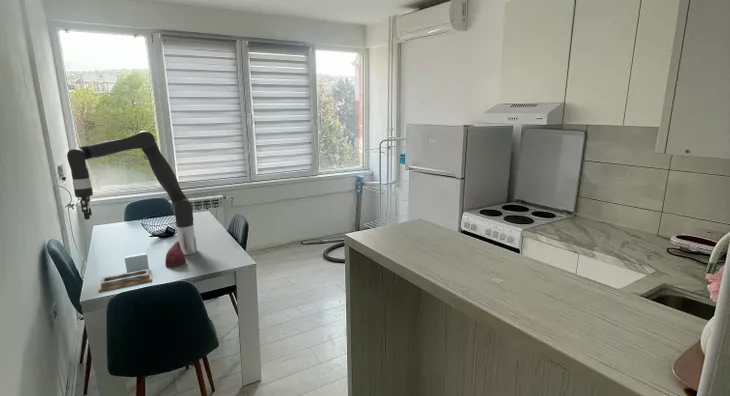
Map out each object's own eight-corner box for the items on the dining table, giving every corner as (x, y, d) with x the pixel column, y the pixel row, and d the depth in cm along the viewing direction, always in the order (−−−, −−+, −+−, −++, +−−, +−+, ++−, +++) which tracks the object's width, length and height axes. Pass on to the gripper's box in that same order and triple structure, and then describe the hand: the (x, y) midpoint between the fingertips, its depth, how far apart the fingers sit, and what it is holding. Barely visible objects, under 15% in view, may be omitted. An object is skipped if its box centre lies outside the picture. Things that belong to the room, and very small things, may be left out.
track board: (151, 272, 197) (150, 266, 196) (152, 281, 186) (151, 275, 186) (101, 282, 186) (100, 276, 185) (98, 292, 176) (97, 285, 175)
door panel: (149, 268, 202) (146, 252, 200) (149, 270, 200) (146, 254, 198) (127, 272, 197) (124, 256, 195) (127, 274, 195) (124, 258, 193)
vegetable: (188, 265, 213) (193, 240, 212) (179, 271, 203) (185, 244, 201) (169, 261, 212) (174, 236, 211) (160, 266, 202) (165, 240, 201)
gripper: (90, 188, 187) (95, 219, 191) (93, 184, 199) (98, 213, 203) (71, 190, 183) (77, 221, 187) (75, 185, 195) (81, 215, 199)
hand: (88, 217), depth 195 cm, fingers open, 8 cm apart
